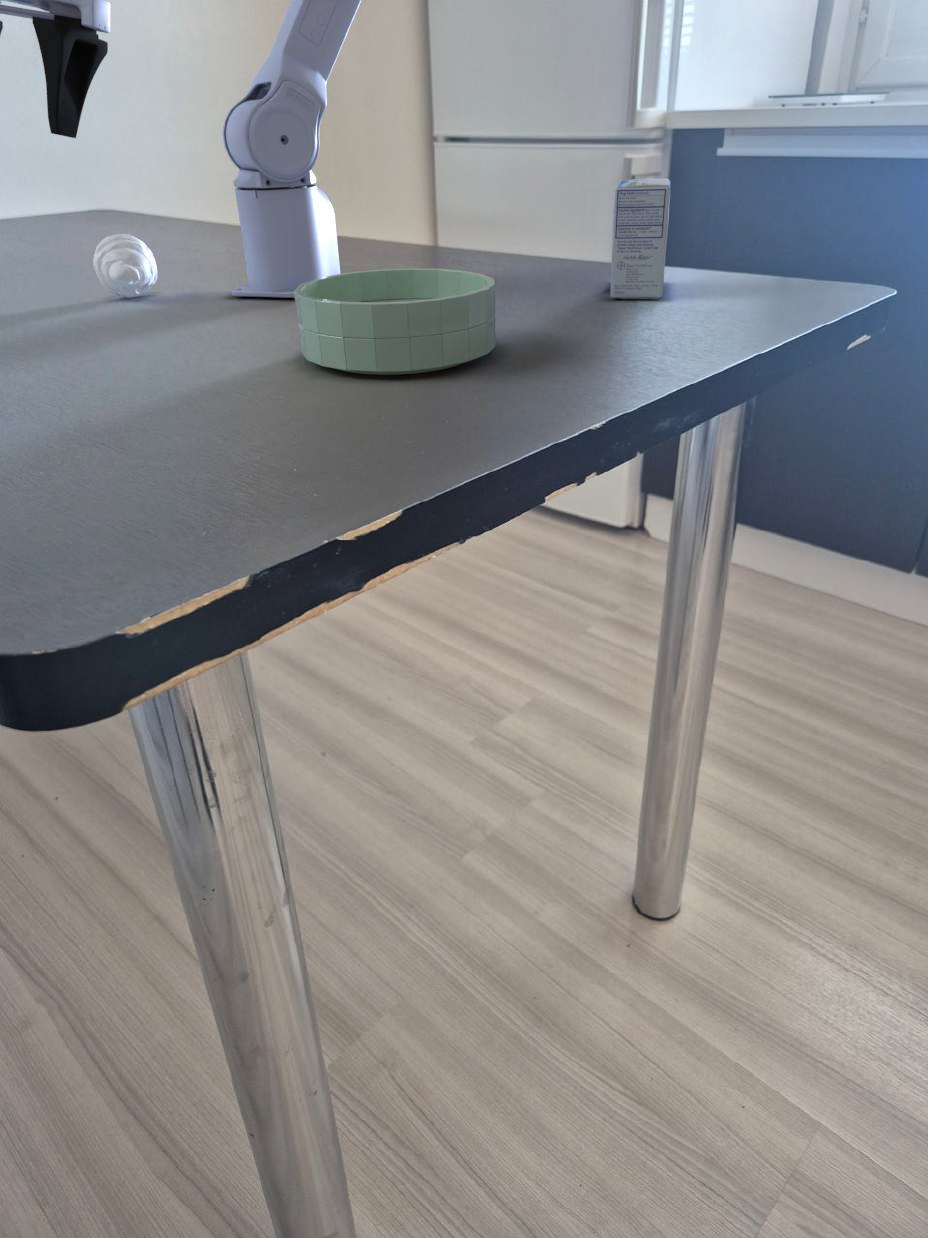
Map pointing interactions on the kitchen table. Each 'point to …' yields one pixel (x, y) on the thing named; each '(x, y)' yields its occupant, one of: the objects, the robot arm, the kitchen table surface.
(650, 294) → the medicine box
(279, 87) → the robot arm
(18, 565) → the kitchen table surface
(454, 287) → the bowl
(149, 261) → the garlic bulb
